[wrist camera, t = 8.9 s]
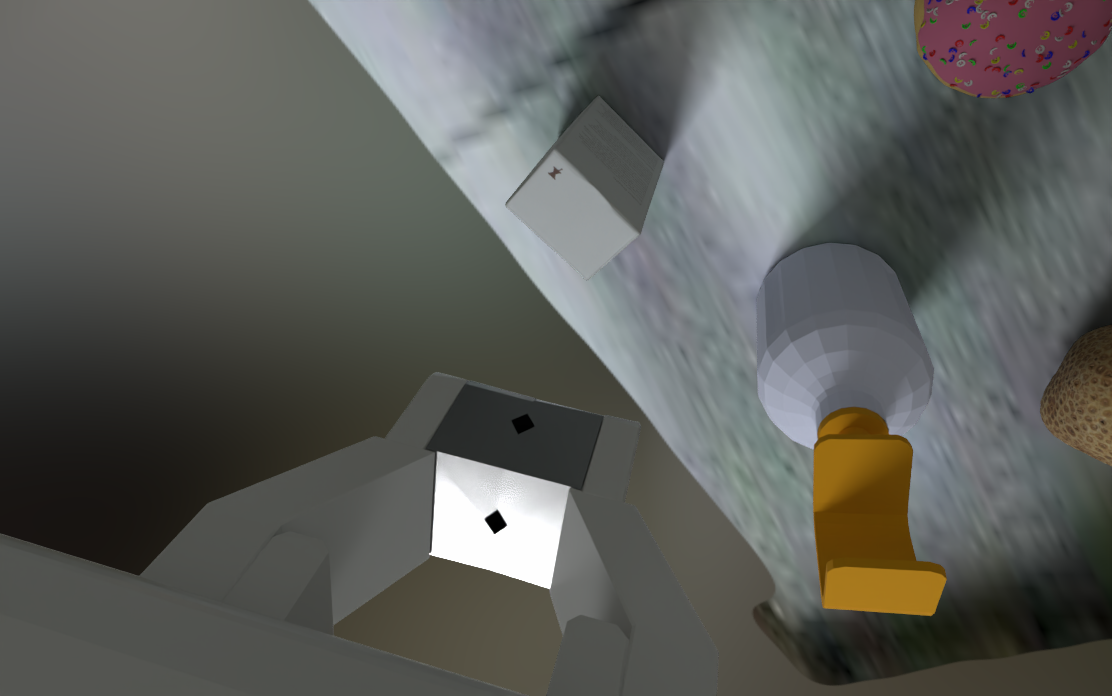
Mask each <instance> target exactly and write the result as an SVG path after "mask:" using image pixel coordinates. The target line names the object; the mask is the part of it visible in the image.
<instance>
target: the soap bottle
mask: <svg viewBox="0 0 1112 696" xmlns="http://www.w3.org/2000/svg"><path fill="white" fill-rule="evenodd" d="M756 306H757V377H758V396H759V398H760V400H761V402H762V404H763V406H764V408H765V410H766V412H767V415H768V417H769V418H770V419H771V420H772V421H773V423H774V424H775V425H776V426H777V427H778V428H779V429H781V430H782V431H783V432H784V433H785V434H786V435H787V436H788V437H789V438H790V439H792V440H793V441H795V442H798V443H800V444H802V445H804V446H807V447H809V448H811V449H813V450H814V485H813V513H814V531H815V541H816V551H817V561H818V570H819V580H820V590H821V599H822V606H823V608H830V609H844V610H858V611H873V612H887V613H901V614H915V615H929V616H931V615H933V614H934V613H935V610H936V607H937V604H938V602H939V599H940V596H941V593H942V591H943V588H944V585H945V582H946V573H945V569H944V568H943V567H942V566H941V565H939V564H935V563H932V562H923V561H916V557H915V553H914V549H913V545H912V542H911V537H910V532H909V526H908V516H907V514H908V500H909V489H910V479H911V468H912V457H913V449H912V446H911V444H910V443H909V441H908V440H907V439H906V438H904V437H902V435H903V434H904V433H906V432H907V431H908V430H909V429H911V428H912V427H913V426H914V425H916V423H917V421H918V419H919V418H920V416H921V414H922V413H923V411H924V409H925V408H926V406H927V404H928V402H929V399H930V396H931V393H932V384H933V374H934V368H933V365H932V362H931V360H930V357H929V354H928V352H927V349H926V346H925V344H924V341H923V339H922V336H921V334H920V331H919V329H918V326H917V324H916V322H915V319H914V317H913V314H912V312H911V309H910V307H909V304H908V302H907V300H906V297H905V295H904V292H903V290H902V287H901V285H900V282H899V280H898V278H897V275H896V273H895V271H894V270H893V269H892V268H891V267H890V266H889V265H888V264H887V263H886V262H885V261H884V260H883V259H882V258H881V257H880V256H879V255H877V254H875V253H872V252H870V251H868V250H866V249H863V248H861V247H859V246H857V245H850V244H839V243H824V244H820V245H815V246H811V247H806V248H802V249H801V250H799V251H797V252H795V253H794V254H792V255H790V256H788V257H787V258H785V259H783V260H781V261H780V262H779V263H778V264H777V265H776V266H775V268H774V269H773V270H772V271H771V272H770V273H769V274H768V275H767V277H766V278H765V279H764V281H763V284H762V286H761V289H760V292H759V294H758V297H757V299H756Z"/></svg>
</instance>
